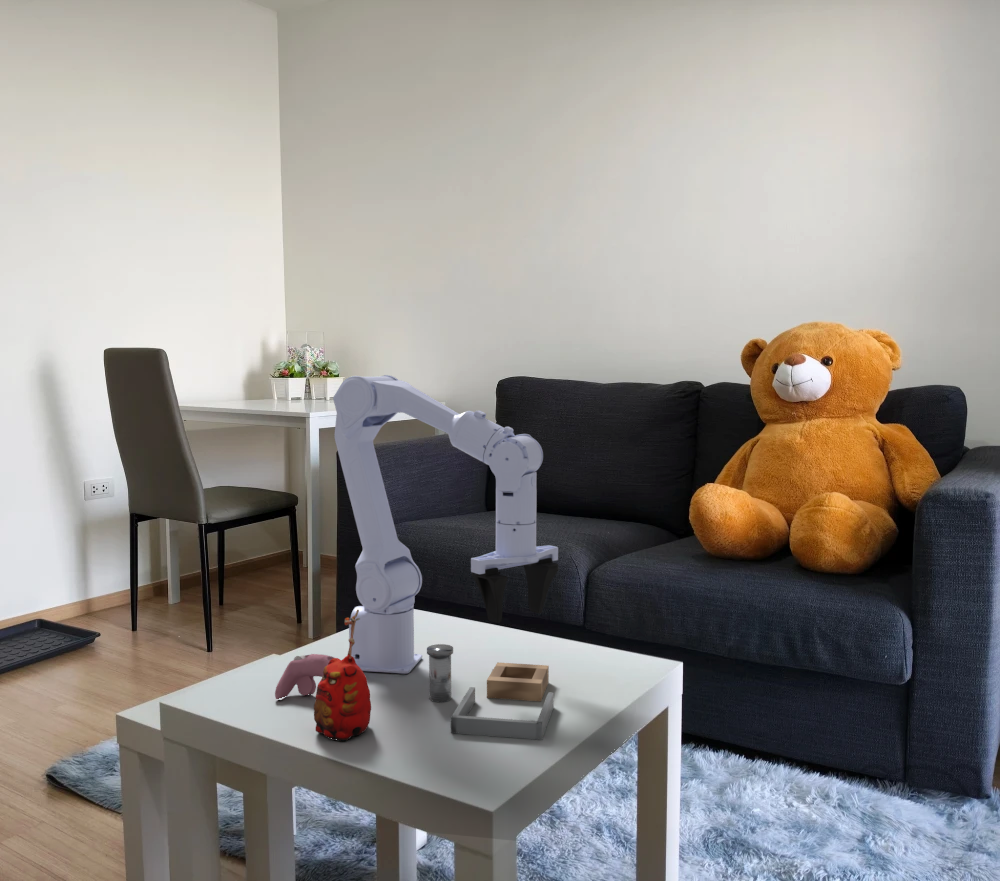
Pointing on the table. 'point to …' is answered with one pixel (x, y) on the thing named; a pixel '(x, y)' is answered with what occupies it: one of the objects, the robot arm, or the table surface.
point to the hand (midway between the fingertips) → (515, 616)
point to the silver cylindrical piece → (440, 672)
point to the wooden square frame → (518, 681)
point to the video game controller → (302, 674)
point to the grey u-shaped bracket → (499, 721)
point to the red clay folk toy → (343, 696)
